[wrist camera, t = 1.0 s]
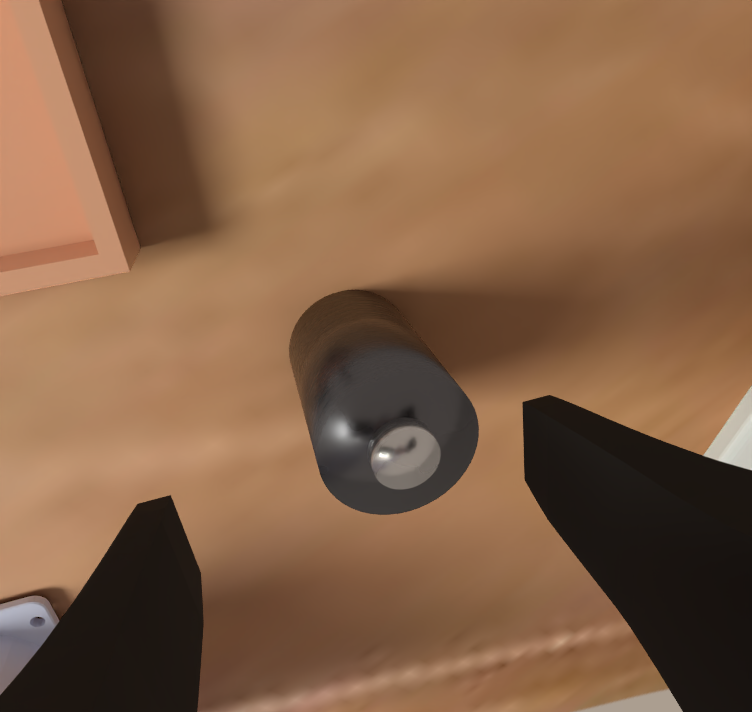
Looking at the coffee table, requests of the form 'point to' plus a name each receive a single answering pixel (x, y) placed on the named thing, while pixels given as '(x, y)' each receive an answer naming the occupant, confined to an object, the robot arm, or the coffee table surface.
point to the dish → (54, 160)
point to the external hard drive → (735, 437)
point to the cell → (379, 405)
